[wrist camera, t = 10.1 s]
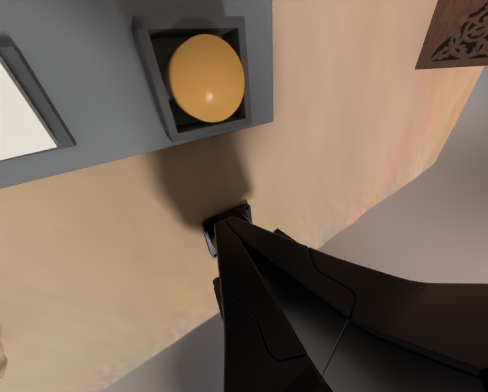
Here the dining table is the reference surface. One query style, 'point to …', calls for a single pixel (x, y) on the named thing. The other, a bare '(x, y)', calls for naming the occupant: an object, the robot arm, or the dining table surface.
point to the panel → (123, 74)
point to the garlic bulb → (2, 362)
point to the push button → (205, 78)
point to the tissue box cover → (456, 35)
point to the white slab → (20, 120)
